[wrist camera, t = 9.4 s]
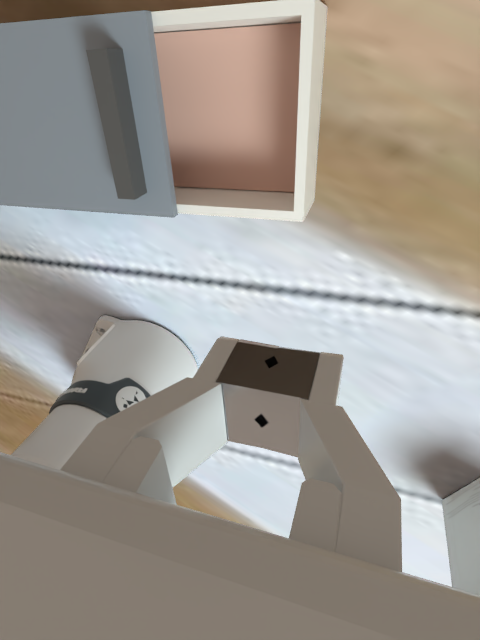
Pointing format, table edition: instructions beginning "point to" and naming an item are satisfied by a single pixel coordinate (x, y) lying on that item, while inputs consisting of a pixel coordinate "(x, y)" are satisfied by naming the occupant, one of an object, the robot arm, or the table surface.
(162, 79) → the base
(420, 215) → the table surface
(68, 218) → the table surface
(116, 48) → the grey flat rectangular panel
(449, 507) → the skincare box
